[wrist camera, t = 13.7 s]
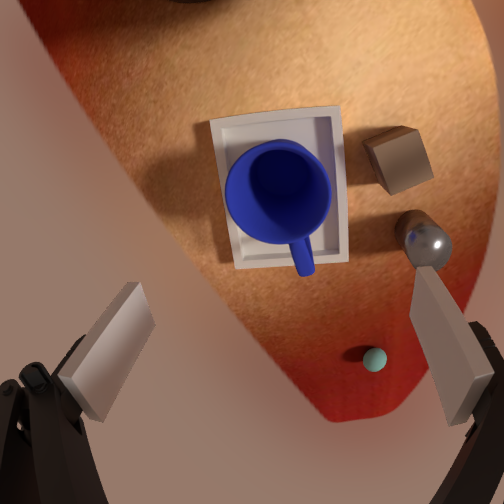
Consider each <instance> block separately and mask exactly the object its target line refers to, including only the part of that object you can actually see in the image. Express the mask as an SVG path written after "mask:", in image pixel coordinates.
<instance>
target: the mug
mask: <svg viewBox="0 0 504 504" xmlns="http://www.w3.org/2000/svg"><path fill="white" fill-rule="evenodd" d="M331 199H332V190H331V183H330V180H329V177H328V174H327V172H326V170H325V168H324V167H323V165H322V164H321V162H320V161H319V160H318V159H317V158H316V157H315V156H314V155H313V154H312V153H311V152H309V151H308V150H307V149H306V148H305V147H304V146H302V145H301V144H299V143H297V142H295V141H292V140H288V139H275V140H271V141H268V142H265V143H262V144H260V145H257V146H255V147H252V148H251V149H249V150H247V151H246V152H245V153H243V154H242V155H241V156H240V157H239V158H238V159H237V160H236V161H235V163H234V164H233V165H232V167H231V169H230V171H229V173H228V176H227V179H226V183H225V201H226V206H227V209H228V211H229V214H230V216H231V217H232V219H233V221H234V222H235V223H236V225H237V226H238V227H239V228H240V229H241V230H242V231H243V232H245V233H246V234H247V235H249V236H250V237H252V238H254V239H256V240H258V241H261V242H264V243H269V244H277V245H282V244H289V248H290V252H291V255H292V258H293V261H294V264H295V267H296V269H297V272H298V274H299V275H300V276H301V277H305V276H309V275H312V274H313V273H314V272H315V266H314V259H313V253H312V247H311V242H310V237H309V235H311V234H312V233H313V232H315V231H316V230H317V229H318V228H319V227H320V225H321V224H322V223H323V221H324V220H325V218H326V216H327V214H328V212H329V209H330V205H331Z"/></svg>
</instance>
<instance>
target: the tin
mask: <svg viewBox="0 0 504 504" xmlns="http://www.w3.org/2000/svg"><path fill="white" fill-rule="evenodd" d="M395 237H396V240H397V241H398V243H399V245H400V246H401V248H402V249H403V251H404V252H405V254H406V255H407V257H408V259H409V260H410V262H411V263H412V265H413V267H414V268H415V269H417V267H424V266H432V267H433V269H434V270H435V271H438V270H439V269H441V268H442V267H443V266H444V265H445V264H446V263H447V261H448V260H449V258H450V255H451V252H452V243H451V239H450V237H449V236H448V235H447V234H446V233H445V232H444V231H443V230H442V229H441V228H440V227H439V226H438V225H437V224H436V223H435V222H434V221H433V220H432V219H431V218H430V217H429V216H428V215H427V214H426V213H425V212H423V211H421V210H410V211H408V212H406V213H404V214H403V215H402V216H401V217H400V218H399V219H398V221H397V223H396V226H395Z"/></svg>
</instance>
